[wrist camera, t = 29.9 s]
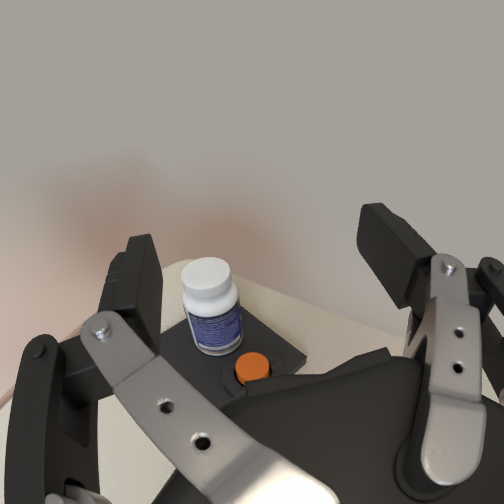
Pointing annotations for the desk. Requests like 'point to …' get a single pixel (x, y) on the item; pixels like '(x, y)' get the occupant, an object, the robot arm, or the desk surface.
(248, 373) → the button
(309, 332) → the desk surface
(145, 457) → the desk surface
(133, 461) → the desk surface
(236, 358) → the scale
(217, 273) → the pill bottle
